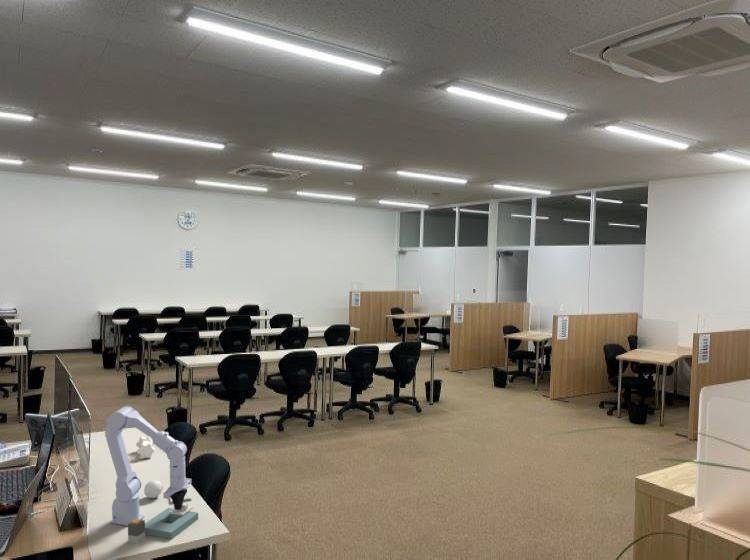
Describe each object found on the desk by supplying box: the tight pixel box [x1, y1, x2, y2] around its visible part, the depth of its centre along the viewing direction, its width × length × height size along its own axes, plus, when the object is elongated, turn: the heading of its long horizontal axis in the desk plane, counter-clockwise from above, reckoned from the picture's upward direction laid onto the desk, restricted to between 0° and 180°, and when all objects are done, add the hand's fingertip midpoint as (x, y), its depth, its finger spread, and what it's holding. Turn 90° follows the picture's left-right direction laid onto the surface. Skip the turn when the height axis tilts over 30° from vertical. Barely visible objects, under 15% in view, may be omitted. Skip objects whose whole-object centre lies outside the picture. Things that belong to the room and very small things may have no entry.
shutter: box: [169, 503, 194, 516], centre depth 213 cm, size 6×6×3 cm
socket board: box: [145, 507, 199, 540], centre depth 207 cm, size 14×16×2 cm
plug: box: [127, 519, 146, 544], centre depth 197 cm, size 4×4×7 cm
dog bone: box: [135, 435, 156, 460], centre depth 282 cm, size 15×9×8 cm, turn 26°
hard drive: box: [168, 487, 192, 505], centre depth 233 cm, size 2×8×12 cm
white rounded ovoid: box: [143, 479, 164, 499], centre depth 233 cm, size 10×7×7 cm
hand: (178, 508), depth 211 cm, fingers closed
